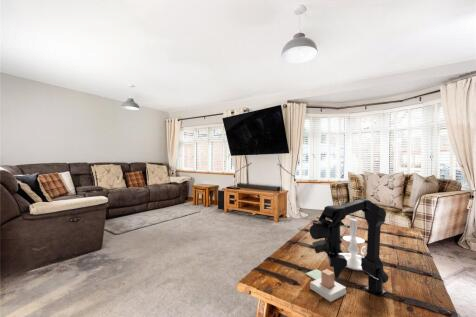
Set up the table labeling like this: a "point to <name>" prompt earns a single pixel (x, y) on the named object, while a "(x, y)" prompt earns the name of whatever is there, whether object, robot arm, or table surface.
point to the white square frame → (328, 290)
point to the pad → (314, 274)
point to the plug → (327, 278)
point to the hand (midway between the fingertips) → (333, 271)
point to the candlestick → (354, 248)
